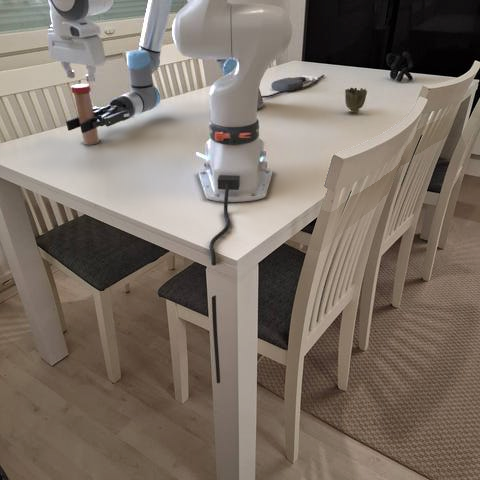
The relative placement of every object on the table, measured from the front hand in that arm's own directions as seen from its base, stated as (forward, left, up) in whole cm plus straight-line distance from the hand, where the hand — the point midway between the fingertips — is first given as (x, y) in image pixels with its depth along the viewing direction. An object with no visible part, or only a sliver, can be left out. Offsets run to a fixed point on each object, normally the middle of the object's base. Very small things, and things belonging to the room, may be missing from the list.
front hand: (81, 79), depth 129 cm
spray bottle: (+67, -71, -19) cm, 99 cm away
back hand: (-6, +3, -12) cm, 14 cm away
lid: (-1, 0, -2) cm, 2 cm away
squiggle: (+73, -119, -19) cm, 140 cm away
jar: (-1, 0, -19) cm, 18 cm away
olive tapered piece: (+23, -86, -19) cm, 91 cm away
